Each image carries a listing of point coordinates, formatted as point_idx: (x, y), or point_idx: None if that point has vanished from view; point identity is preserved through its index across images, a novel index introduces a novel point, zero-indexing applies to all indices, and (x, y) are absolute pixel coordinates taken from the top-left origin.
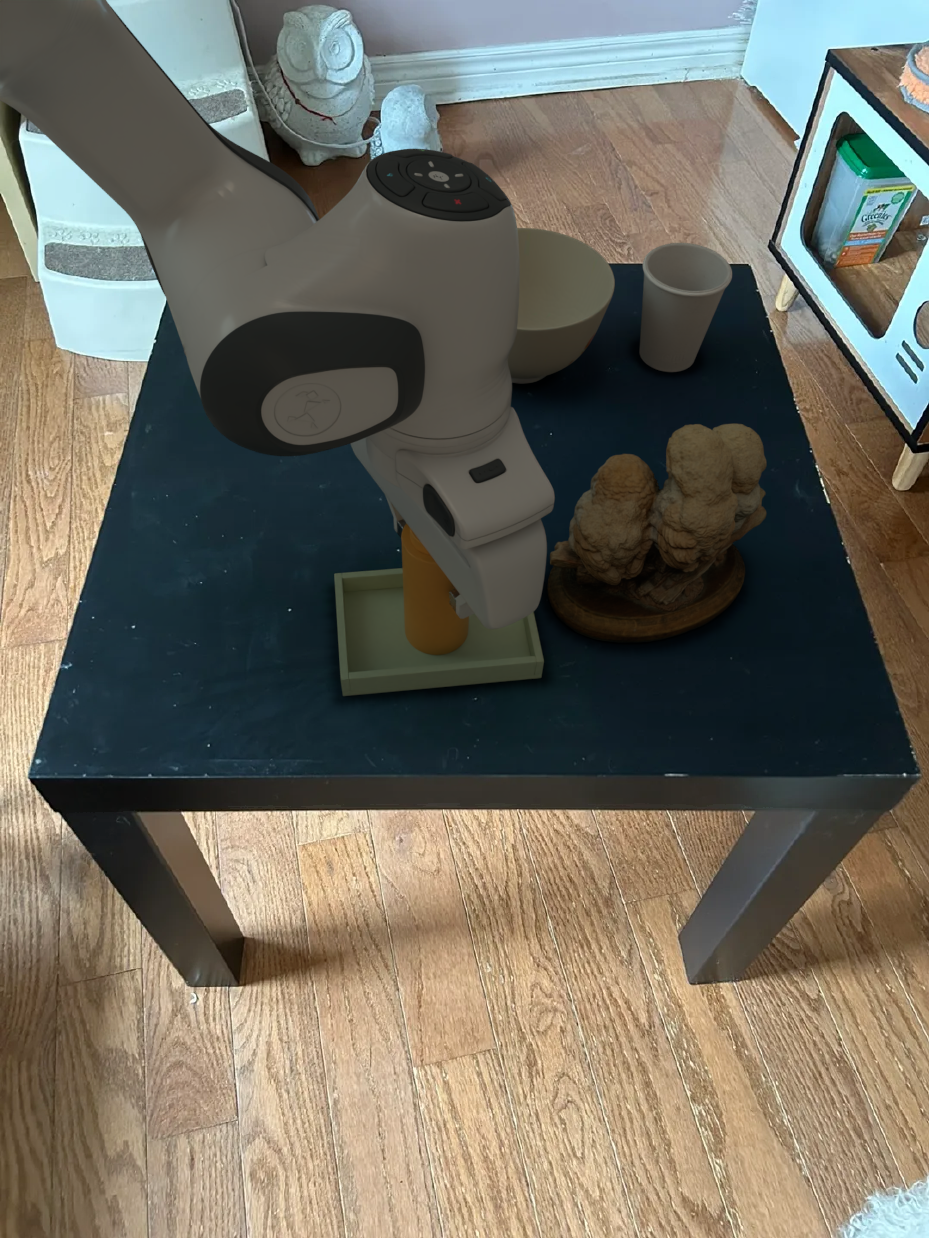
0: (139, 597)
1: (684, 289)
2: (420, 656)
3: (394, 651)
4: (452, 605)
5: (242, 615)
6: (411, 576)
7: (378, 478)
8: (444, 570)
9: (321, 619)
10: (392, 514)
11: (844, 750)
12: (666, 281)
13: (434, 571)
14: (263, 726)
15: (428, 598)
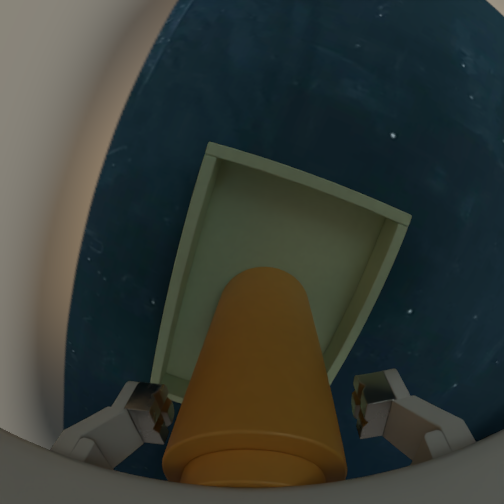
0: (456, 7)
1: None
2: (230, 270)
3: (253, 241)
4: (146, 389)
5: (405, 77)
6: (228, 370)
7: (482, 479)
8: (63, 474)
9: (360, 167)
10: (414, 396)
11: None
12: None
13: (173, 429)
14: (218, 39)
15: (202, 357)
